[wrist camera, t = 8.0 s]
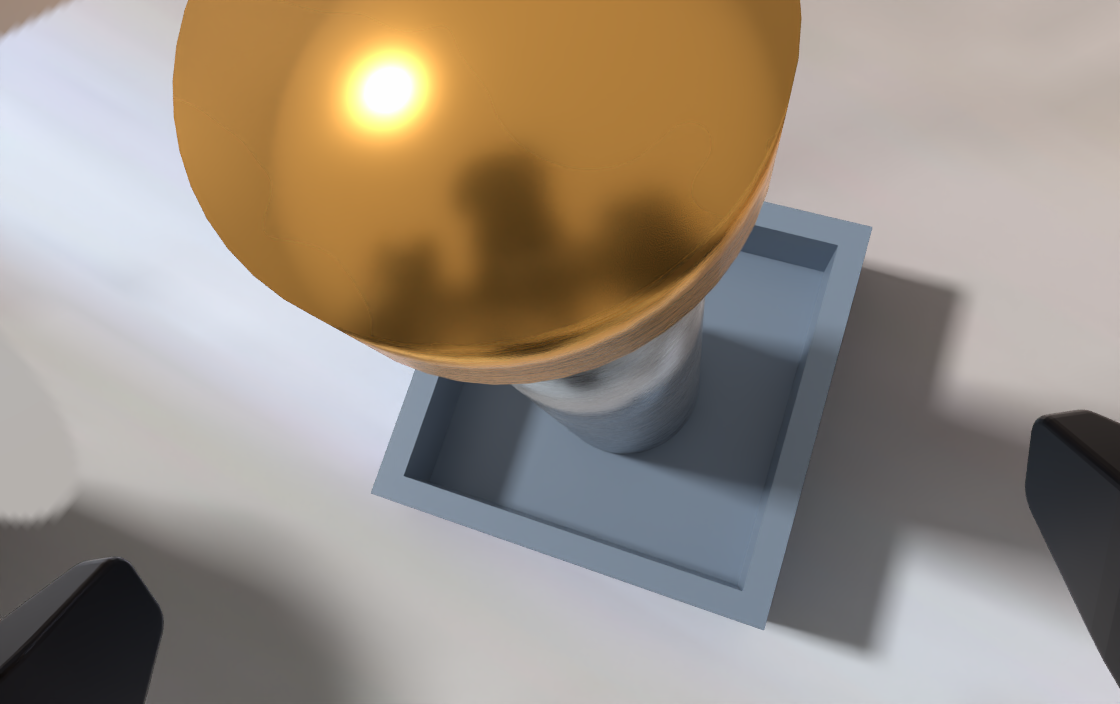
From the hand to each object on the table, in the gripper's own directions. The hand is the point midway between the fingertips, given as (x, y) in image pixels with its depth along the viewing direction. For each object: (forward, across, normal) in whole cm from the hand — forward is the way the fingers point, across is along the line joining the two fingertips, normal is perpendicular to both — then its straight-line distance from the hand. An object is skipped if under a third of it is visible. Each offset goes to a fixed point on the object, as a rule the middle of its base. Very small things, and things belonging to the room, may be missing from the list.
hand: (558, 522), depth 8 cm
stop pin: (+11, 0, +6) cm, 12 cm away
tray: (+11, 0, +6) cm, 13 cm away
